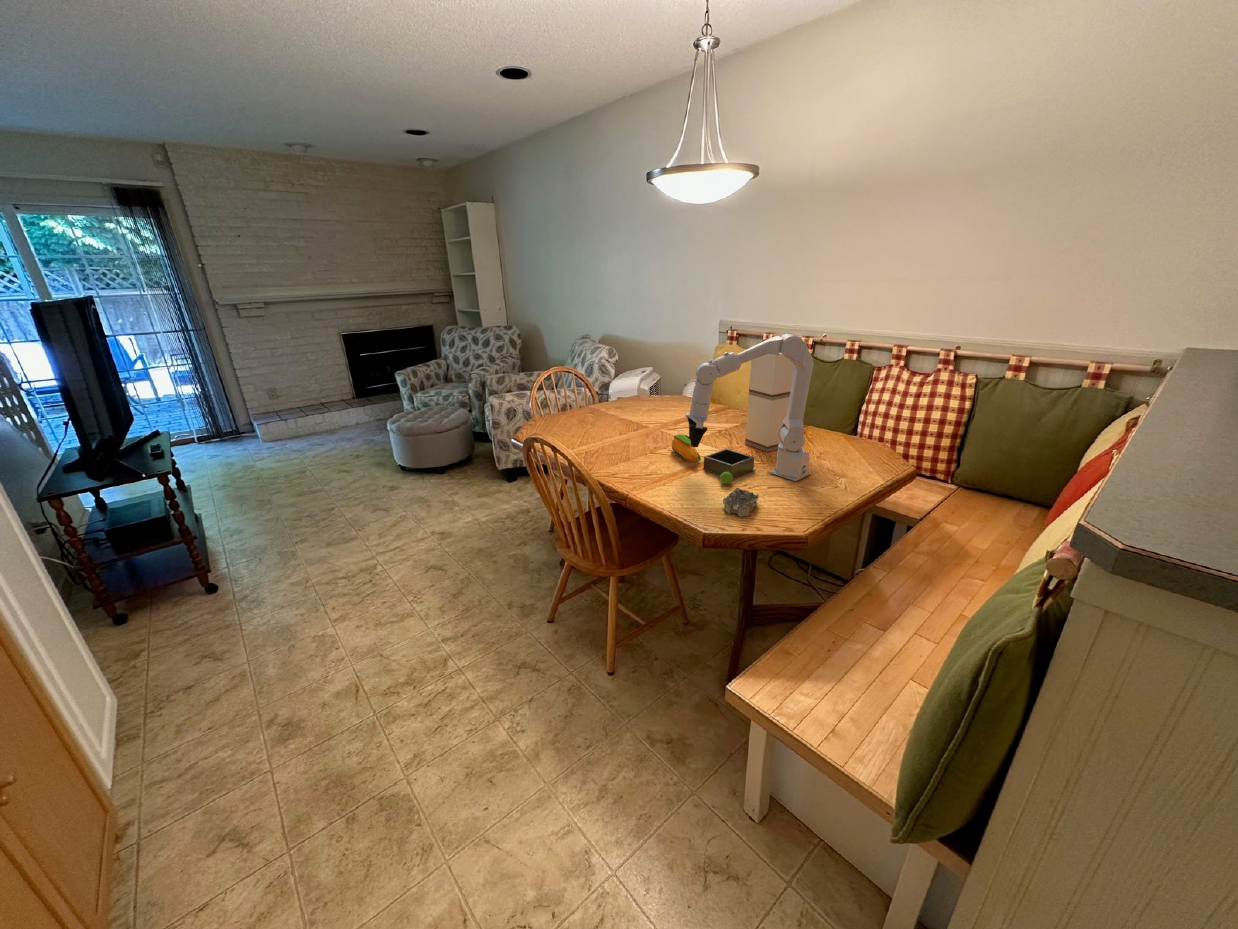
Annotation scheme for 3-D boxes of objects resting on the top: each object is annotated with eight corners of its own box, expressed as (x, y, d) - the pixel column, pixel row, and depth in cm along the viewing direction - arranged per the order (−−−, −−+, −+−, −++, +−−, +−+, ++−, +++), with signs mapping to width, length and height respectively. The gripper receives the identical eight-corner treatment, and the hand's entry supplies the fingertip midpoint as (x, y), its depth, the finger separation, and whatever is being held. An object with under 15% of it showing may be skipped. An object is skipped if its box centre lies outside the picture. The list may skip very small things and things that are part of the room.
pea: (735, 484, 148) (736, 472, 146) (726, 487, 146) (727, 475, 144) (724, 480, 151) (725, 468, 149) (716, 484, 148) (717, 472, 147)
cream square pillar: (787, 446, 179) (798, 351, 166) (766, 451, 174) (775, 354, 161) (765, 438, 188) (773, 348, 175) (744, 443, 183) (751, 350, 170)
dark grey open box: (753, 469, 158) (754, 457, 157) (731, 479, 152) (732, 465, 150) (725, 460, 167) (726, 448, 165) (703, 469, 160) (704, 456, 158)
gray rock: (745, 519, 127) (746, 505, 125) (719, 511, 131) (720, 498, 130) (760, 504, 135) (762, 490, 133) (735, 497, 139) (736, 484, 137)
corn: (685, 428, 177) (707, 445, 159) (686, 447, 180) (708, 466, 162) (667, 431, 176) (686, 448, 158) (668, 450, 179) (687, 470, 161)
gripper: (686, 394, 156) (679, 434, 161) (689, 406, 143) (682, 448, 148) (708, 397, 156) (700, 436, 161) (713, 409, 143) (705, 451, 148)
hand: (693, 442), depth 154 cm, fingers open, 7 cm apart
